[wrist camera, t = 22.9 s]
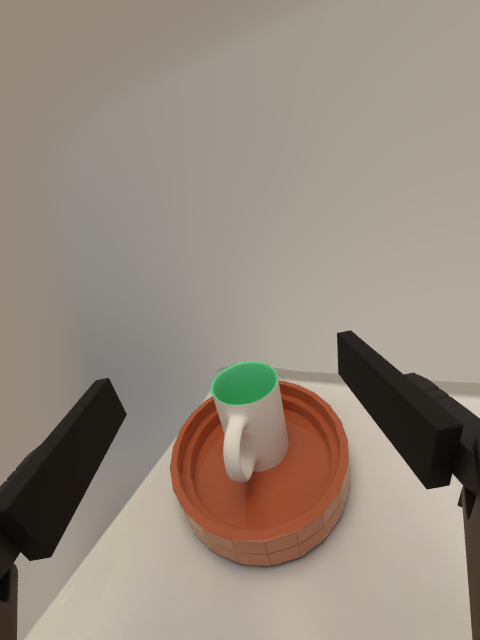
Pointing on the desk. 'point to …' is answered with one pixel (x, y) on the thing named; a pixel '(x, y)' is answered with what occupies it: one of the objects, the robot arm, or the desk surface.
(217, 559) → the desk surface
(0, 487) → the robot arm
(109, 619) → the desk surface
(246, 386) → the mug
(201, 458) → the bowl
